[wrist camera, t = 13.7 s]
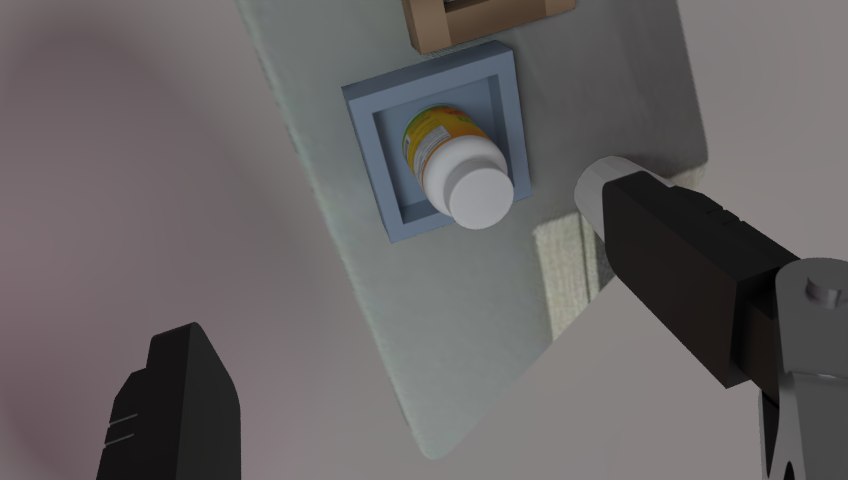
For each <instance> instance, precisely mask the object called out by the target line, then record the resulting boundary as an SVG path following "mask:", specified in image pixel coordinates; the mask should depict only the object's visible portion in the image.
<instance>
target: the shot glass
mask: <svg viewBox="0 0 848 480" xmlns="http://www.w3.org/2000/svg"><path fill="white" fill-rule="evenodd" d="M641 170H643V171H646V172H648V173H649V174H651V175H652V176H654V177H655V178H656V179H658V180H659V181H661V182H662V183H663V184H665V185H666V186H668V187H672V186H675V185H676V184H674V183H672V182H670V181H668V180H666V179H664V178H662V177H660V176H658V175H656V174H654V173H653V172H651V171H649V170H647V169H645V168H643V167H641V166H639V165H637V164H635V163H633V162H631V161H629V160H627V159H625V158H624V157H618V156H608V157H605V158H601V159H599V160H597V161H596V162H594V163H593V164H591V165H590V166H588V167H587V168H586V170H585V171H584V172H583V173H582V175H581V176H580V177H579V179H578V182H577V185H576V187H575V190H574V195H575V203H576V205H577V207H578V209H579V211H580V212H581V213H582V215H583V216H584V217H585V218H586V220H587V221H588V222H589V224H590V225H591V226H592V227H593V229H594V230H595V231H596V232H597V234H598V235H599V236H600V237H601V239H602V240H603V241H604V224H603V206H602V188H603V185H604V184H605V183H606V182H608V181H611V180H614V179H617V178H620V177H623V176H626V175H629V174H632V173H635V172H638V171H641ZM676 186H678V185H676ZM604 243H605V241H604Z"/></svg>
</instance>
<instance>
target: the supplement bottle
mask: <svg viewBox="0 0 848 480" xmlns="http://www.w3.org/2000/svg"><path fill="white" fill-rule="evenodd" d="M401 148H402V153H403V156H404V158H405V161H406V163H407V164H408V166H409V168H410V170H411V171H412V173H413V175H414V176H415V178H416V180H417V181H418V183H419V185H420V186H421V188H422V190H423V191H424V193H425V195H426V197H427V198H428V200H429V201H430V202H431V204H432V205H433V206H434V207H435V208H436V209H437V210H438V211H440V212H441V213H443V214H445V215H447V216H450V217H453V218H454V220H455V221H456V222H457V223H458V224H460V225H461V226H463V227H465V228H469V229H483V228H487V227H489V226H492V225H494V224H495V223H497V222H498V221H500V220H501V219H502V218H503V217H504V216H505V215H506V214H507V212H508V211H509V209H510V207H511V205H512V202H513V196H514V190H513V185H512V182H511V180H510V179H509V177H508V176H507V174H508V171H507V164H506V161H505V158H504V156H503V154H502V153H501V151H500V150H499V149H498V147H497V146H496V145H495V144H494V143H493V142H492V141H491V140H490V139H489V138H488V137H487V136H486V135H485V133H484V132H483V131H482V130H481V129H480V128H479V127H478V126H477V125H476V124H475V123H474V122H473V121H472V120H471V119H470V118H469V117H468V116H467V115H466V114H465V113H464V112H463V111H462V110H460V109H459V108H457V107H455V106H452V105H447V104H435V105H431V106H428V107H425V108H423V109H422V110H420V111H418V112H417V113H416V114H415V115H414V116H413V117H412V118H411V119H410V120H409V121H408V123H407V124H406V126H405V128H404V131H403V134H402V139H401Z"/></svg>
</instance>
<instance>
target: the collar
mask: <svg viewBox="0 0 848 480" xmlns="http://www.w3.org/2000/svg"><path fill="white" fill-rule="evenodd" d="M401 1H402V5H403V9H404V14H405V18H406V23H407V27H408V31H409V36H410V40H411V45H412V47H413V48H415V49H416V50H417V51H418V52H419V53H420V54H421V55H424V54H427V53H430V52H434V51H437V50H440V49H443V48H447V47H450V46H453V45H456V44H460V43H463V42H466V41H470V40H473V39H476V38H479V37H483V36H486V35H489V34H492V33H496V32H499V31H502V30H505V29H509V28H512V27H515V26H519V25H522V24H525V23H528V22H532V21H535V20H538V19H541V18H545V17H548V16H551V15H554V14H558V13H561V12H564V11H568V10H571V9H574V8H575V0H455V1H451V2H448V3H443V0H401Z"/></svg>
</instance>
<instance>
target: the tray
mask: <svg viewBox="0 0 848 480" xmlns="http://www.w3.org/2000/svg"><path fill="white" fill-rule="evenodd" d="M341 88H342V91H343V95H344V98H345V101H346V105H347V108H348V111H349V114H350V118H351V121H352V124H353V128H354V131H355V134H356V137H357V141H358V144H359V147H360V150H361V154H362V157H363V160H364V164H365V167H366V170H367V173H368V177H369V180H370V183H371V186H372V190H373V193H374V196H375V200H376V203H377V206H378V209H379V213H380V216H381V219H382V223H383V225H384V228H385V230H386V232H387V234H388V237H389V239H390V241H391V244H392V243H395V242H398V241H401V240H404V239H406V238H409V237H412V236H415V235H418V234H421V233H424V232H427V231H430V230H433V229H436V228H439V227H442V226H445V225H448V224H451V223H454V222H456V221H455V220H454V218H453V217H450V216H447V215H445V214H443V213H441V212H440V211H438V210H437V209H436V208H435V207H434V206H433V205H432V204H431V202H430V201H429V200H428V198H427V197H426V195H425V193H424V191H423V190H422V188H421V186H420V185H419V183H418V181H417V180H416V178H415V176H414V175H413V173H412V171H411V170H410V168H409V166H408V164H407V163H406V161H405V158H404V156H403V153H402V148H401V139H402V134H403V131H404V128H405V126H406V124H407V123H408V121H409V120H410V119H411V118H412V117H413V116H414V115H415V114H416V113H417V112H418V111H420V110H422V109H423V108H425V107H428V106H431V105H435V104H447V105H452V106H455V107H457V108H459V109H460V110H462V111H463V112H464V113H465V114H466V115H467V116H468V117H469V118H470V119H471V120H472V121H473V122H474V123H475V124H476V125H477V126H478V127H479V128H480V129H481V130H482V131H483V132H484V133H485V135H486V136H487V137H488V138H489V139H490V140H491V141H492V142H493V143H494V144H495V145H496V146H497V147H498V149H499V150H500V151H501V153H502V154H503V156H504V158H505V161H506V164H507V171H508V174H507V176H508V177H509V179H510V180H511V182H512V185H513V190H514V196H513V202H515V201H518V200H521V199H524V198H527V197H530V196H532V192H531V185H530V177H529V170H528V162H527V155H526V147H525V140H524V132H523V125H522V117H521V110H520V102H519V95H518V88H517V80H516V73H515V65H514V58H513V50H511V49H510V48H508V47H506V46H505V45H503V44H501V43H500V42H498V41H497V40H494V41H490V42H487V43H484V44H481V45H477V46H474V47H471V48H468V49H464V50H461V51H458V52H455V53H451V54H448V55H445V56H442V57H438V58H435V59H432V60H429V61H425V62H422V63H419V64H416V65H412V66H409V67H406V68H403V69H399V70H396V71H393V72H390V73H386V74H383V75H380V76H377V77H373V78H370V79H367V80H364V81H360V82H357V83H354V84H351V85H347V86H344V87H341Z"/></svg>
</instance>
